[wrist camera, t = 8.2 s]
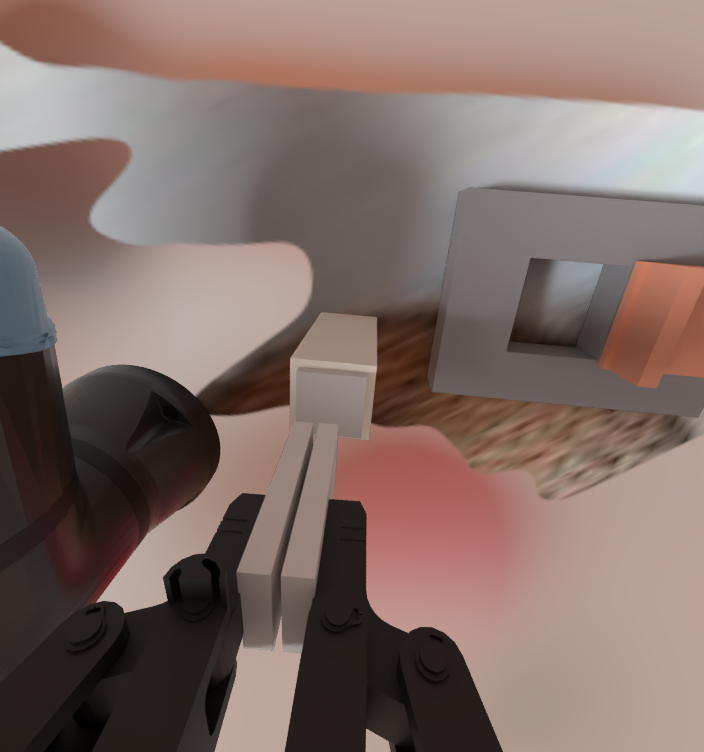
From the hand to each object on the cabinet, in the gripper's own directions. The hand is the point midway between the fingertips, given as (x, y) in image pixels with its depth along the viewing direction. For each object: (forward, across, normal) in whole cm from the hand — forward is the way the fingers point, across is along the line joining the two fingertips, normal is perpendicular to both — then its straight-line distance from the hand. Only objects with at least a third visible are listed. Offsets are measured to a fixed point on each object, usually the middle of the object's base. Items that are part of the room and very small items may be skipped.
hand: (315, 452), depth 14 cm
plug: (+16, 0, 0) cm, 16 cm away
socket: (+16, +18, +4) cm, 24 cm away
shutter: (+12, +22, +4) cm, 26 cm away
